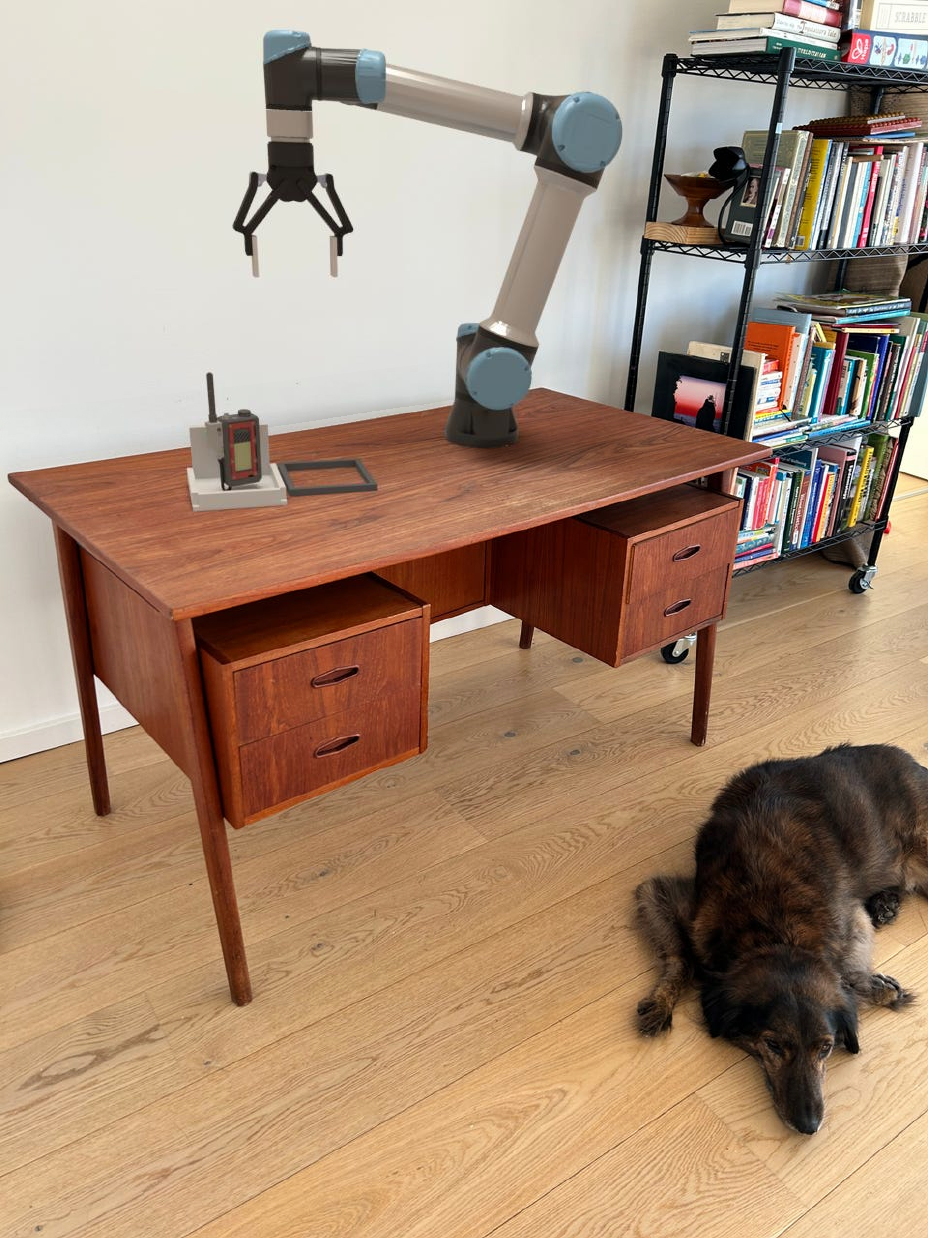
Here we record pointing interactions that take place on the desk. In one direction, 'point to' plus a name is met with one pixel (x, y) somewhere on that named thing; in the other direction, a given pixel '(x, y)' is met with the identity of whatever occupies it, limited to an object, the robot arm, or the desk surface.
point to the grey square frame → (328, 489)
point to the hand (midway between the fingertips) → (295, 276)
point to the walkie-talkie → (234, 443)
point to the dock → (210, 492)
